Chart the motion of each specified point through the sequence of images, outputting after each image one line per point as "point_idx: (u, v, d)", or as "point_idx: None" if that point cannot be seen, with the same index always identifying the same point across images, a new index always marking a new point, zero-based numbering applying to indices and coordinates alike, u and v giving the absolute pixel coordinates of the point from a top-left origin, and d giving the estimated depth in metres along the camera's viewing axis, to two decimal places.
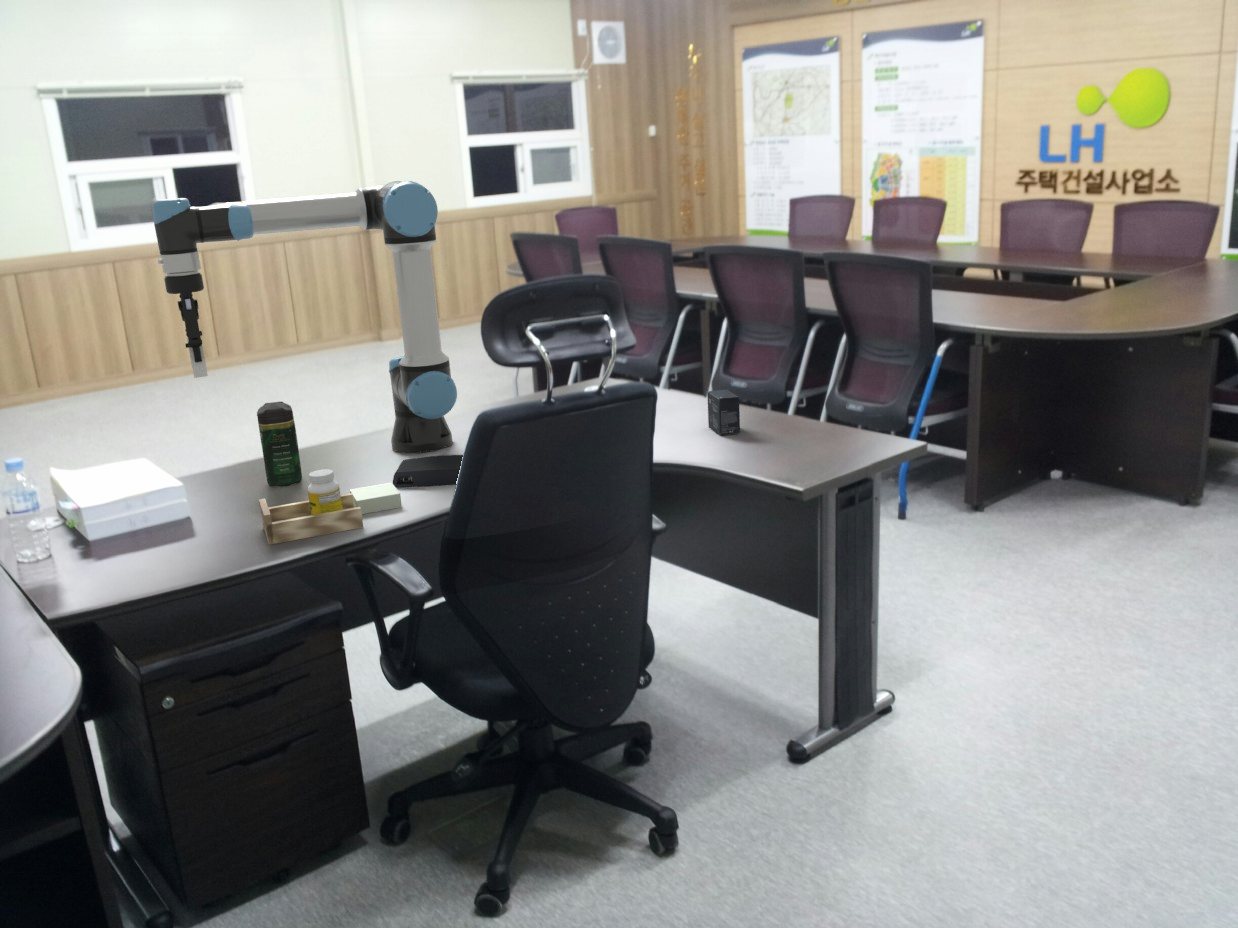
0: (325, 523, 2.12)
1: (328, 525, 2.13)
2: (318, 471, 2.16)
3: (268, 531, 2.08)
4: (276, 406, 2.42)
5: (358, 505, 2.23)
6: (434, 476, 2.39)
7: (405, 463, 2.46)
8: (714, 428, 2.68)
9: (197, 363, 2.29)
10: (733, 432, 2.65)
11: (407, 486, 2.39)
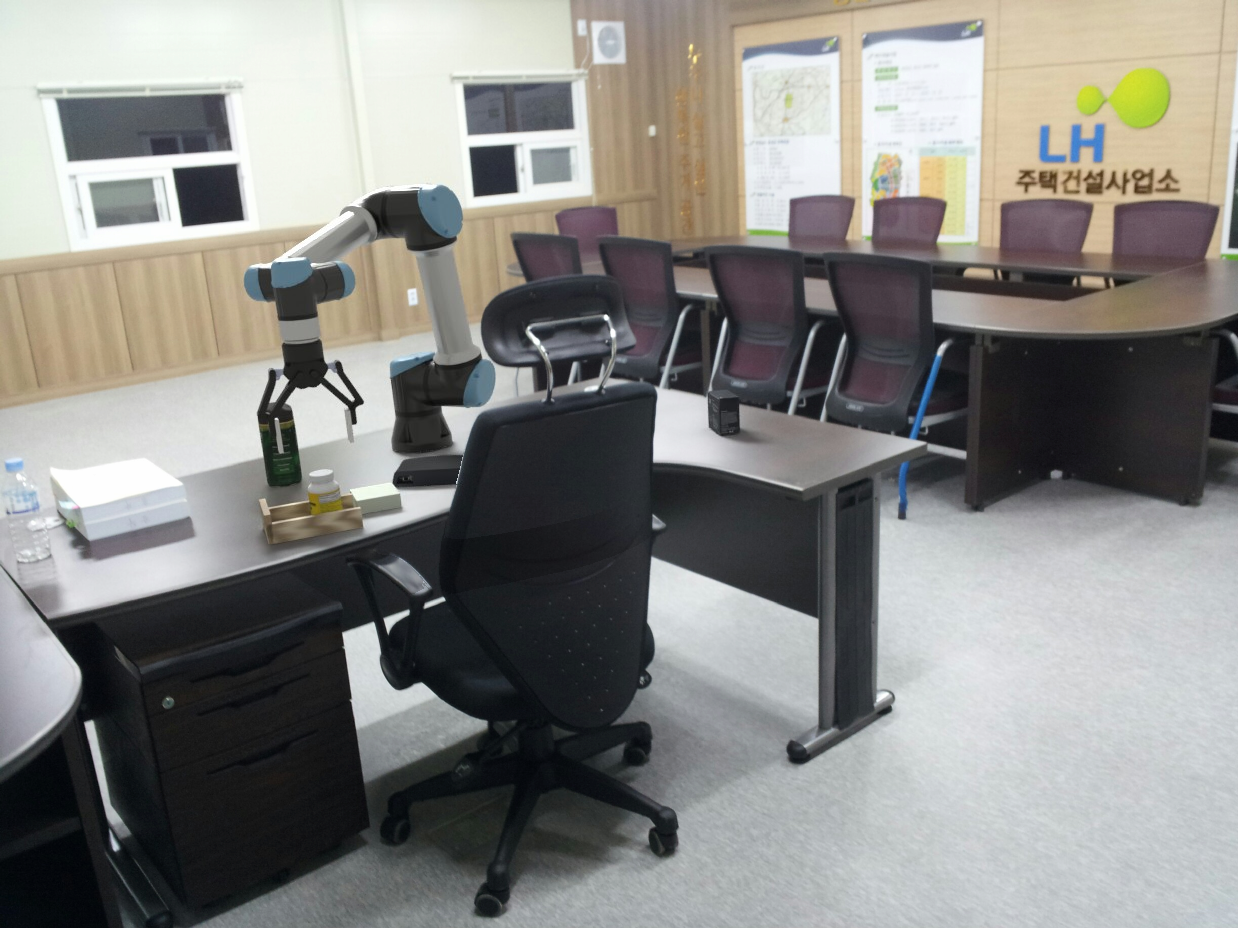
0: (325, 523, 2.12)
1: (328, 525, 2.13)
2: (318, 471, 2.16)
3: (268, 531, 2.08)
4: None
5: (358, 505, 2.23)
6: (434, 476, 2.39)
7: (406, 463, 2.46)
8: (714, 428, 2.68)
9: (276, 437, 2.11)
10: (733, 432, 2.65)
11: (407, 485, 2.40)
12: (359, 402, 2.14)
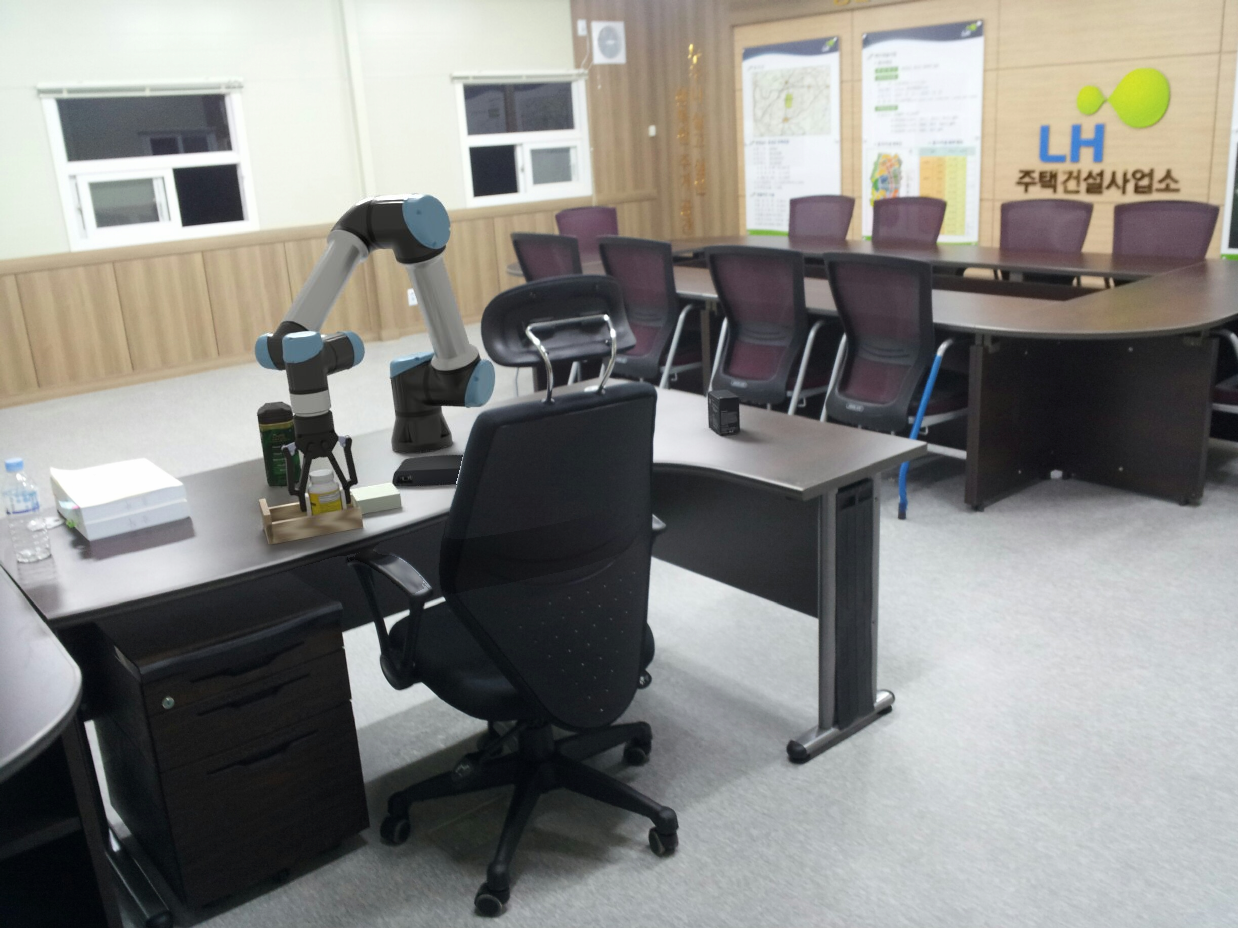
0: (325, 523, 2.12)
1: (328, 525, 2.13)
2: (318, 471, 2.16)
3: (268, 531, 2.08)
4: (276, 406, 2.42)
5: (358, 505, 2.23)
6: (433, 476, 2.39)
7: (406, 462, 2.47)
8: (714, 428, 2.68)
9: (307, 511, 2.16)
10: (733, 432, 2.65)
11: (406, 485, 2.40)
12: (353, 481, 2.17)
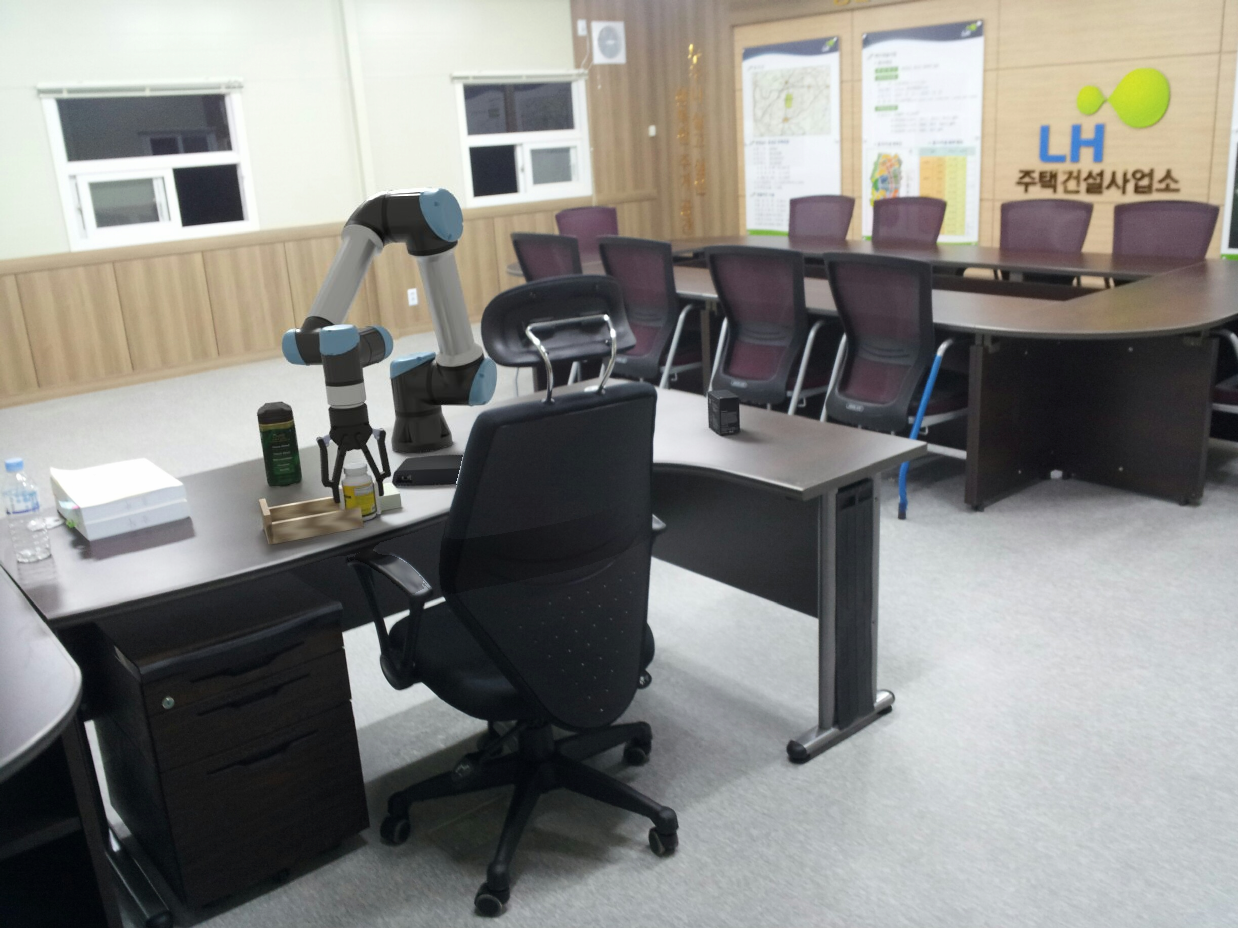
0: (325, 523, 2.12)
1: (328, 525, 2.13)
2: (351, 464, 2.18)
3: (268, 531, 2.08)
4: (276, 406, 2.42)
5: None
6: (433, 476, 2.40)
7: (407, 462, 2.47)
8: (714, 428, 2.68)
9: (340, 503, 2.18)
10: (733, 432, 2.65)
11: (406, 484, 2.40)
12: (386, 474, 2.19)
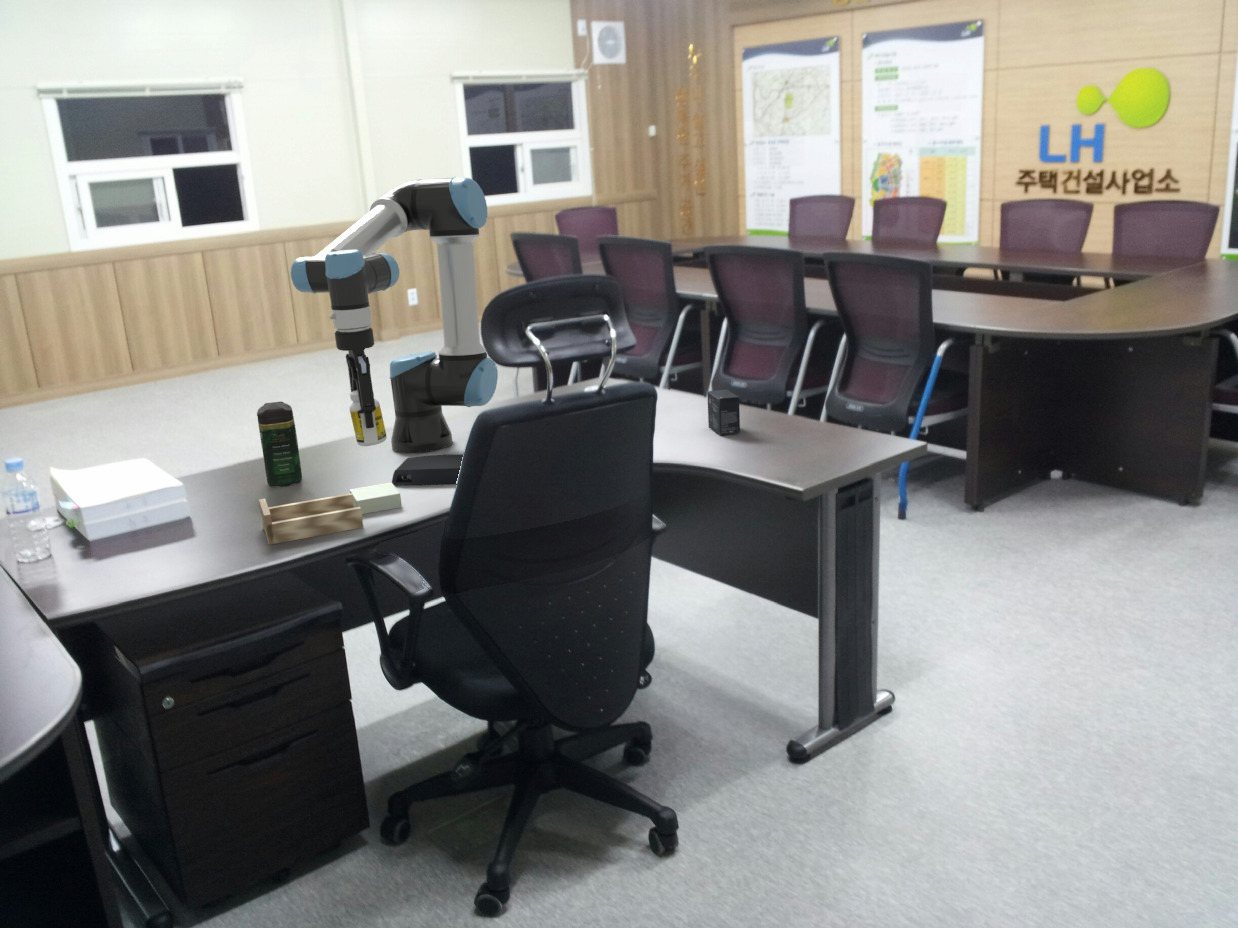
0: (325, 523, 2.12)
1: (328, 525, 2.13)
2: (356, 393, 2.21)
3: (268, 531, 2.08)
4: (276, 406, 2.42)
5: (358, 505, 2.23)
6: (432, 475, 2.40)
7: (408, 461, 2.47)
8: (714, 428, 2.68)
9: (368, 429, 2.20)
10: (733, 432, 2.65)
11: (406, 484, 2.41)
12: None
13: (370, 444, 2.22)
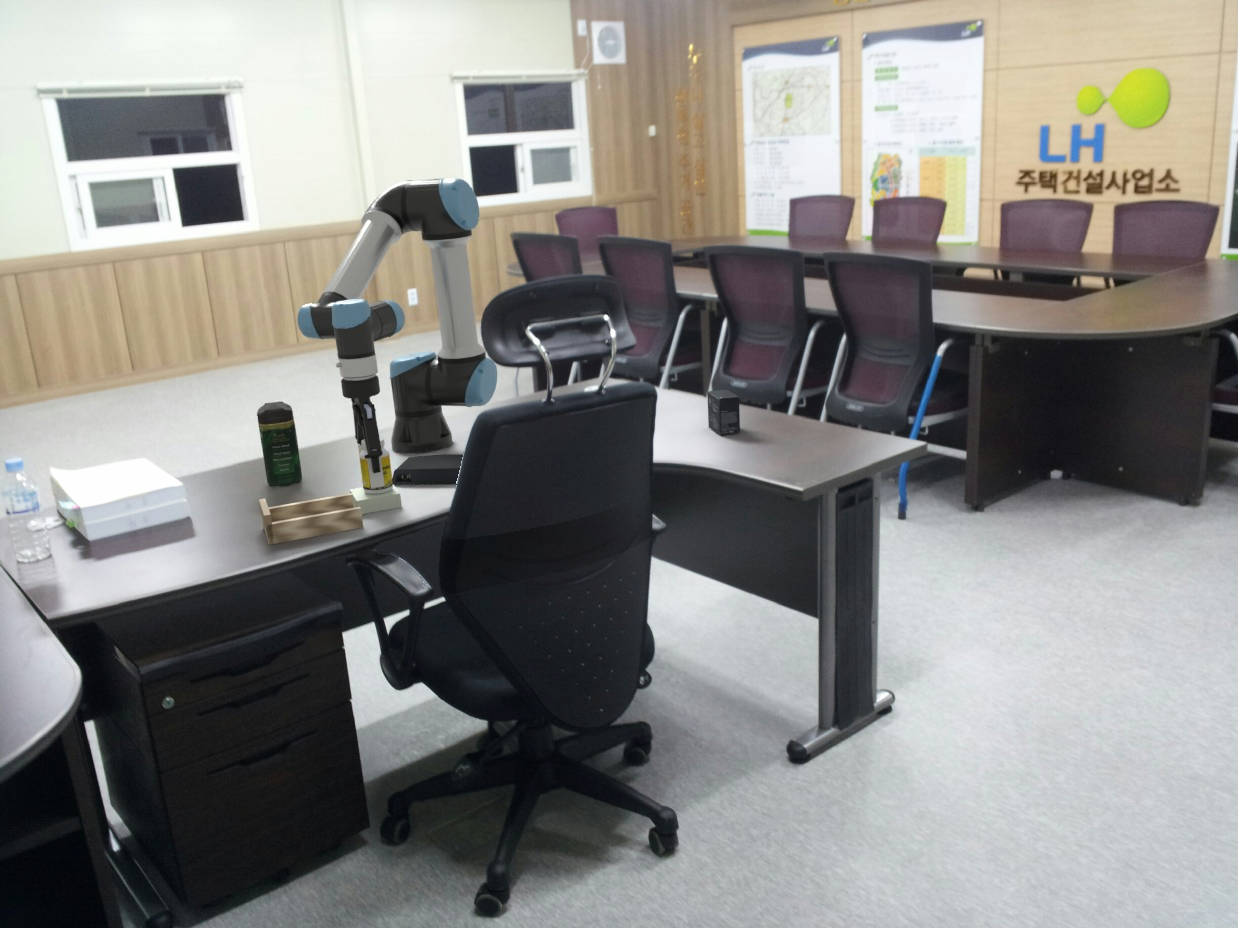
0: (325, 523, 2.12)
1: (328, 525, 2.13)
2: None
3: (268, 531, 2.08)
4: (276, 406, 2.42)
5: (358, 505, 2.23)
6: (432, 475, 2.40)
7: (408, 460, 2.48)
8: (714, 428, 2.68)
9: (375, 473, 2.21)
10: (733, 432, 2.65)
11: (405, 483, 2.41)
12: None
13: (376, 492, 2.25)
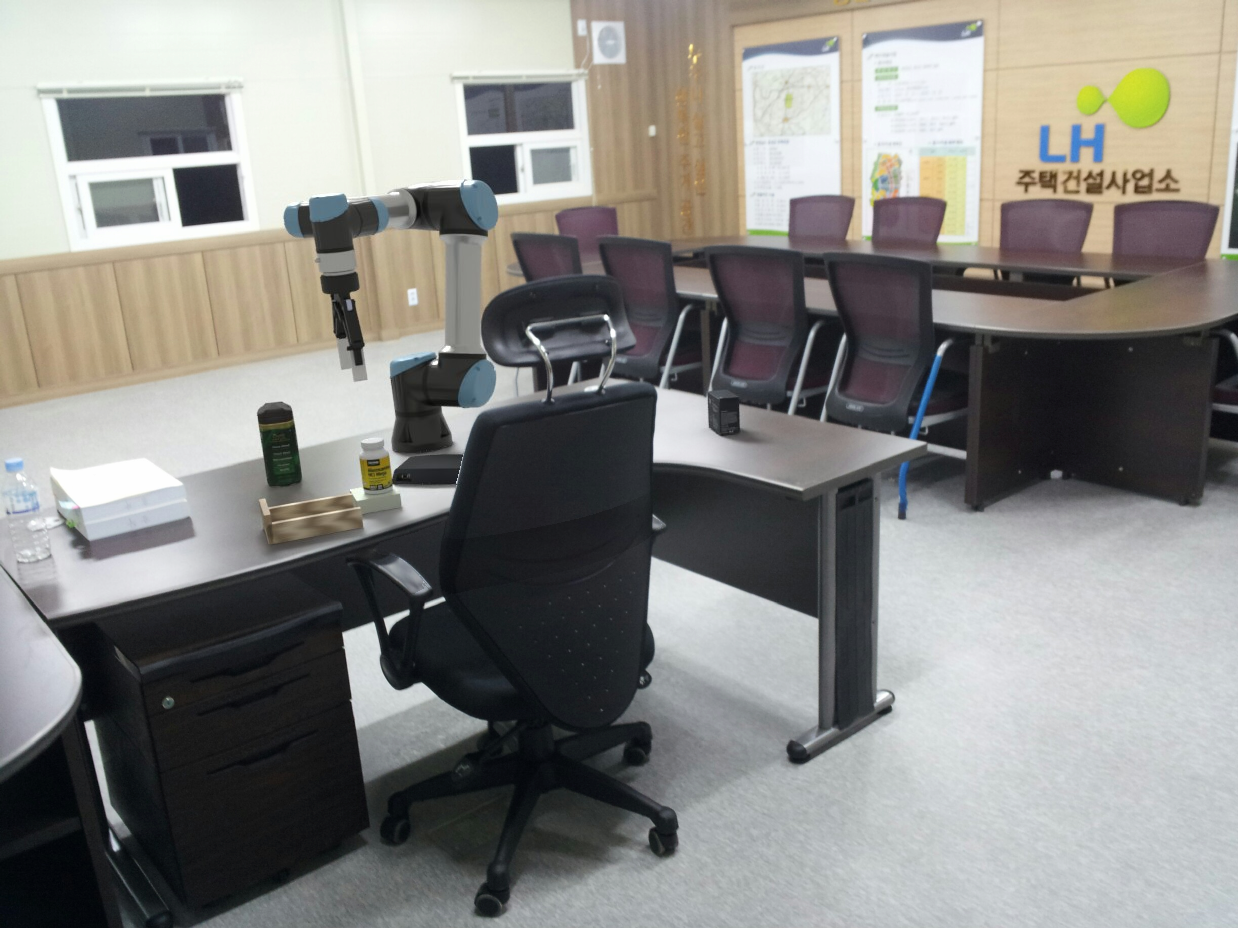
0: (325, 523, 2.12)
1: (328, 525, 2.13)
2: (367, 441, 2.24)
3: (268, 531, 2.08)
4: (276, 406, 2.42)
5: (358, 505, 2.23)
6: (431, 475, 2.40)
7: (409, 460, 2.48)
8: (714, 428, 2.68)
9: (357, 366, 2.18)
10: (733, 432, 2.65)
11: (405, 483, 2.42)
12: None
13: (376, 492, 2.25)
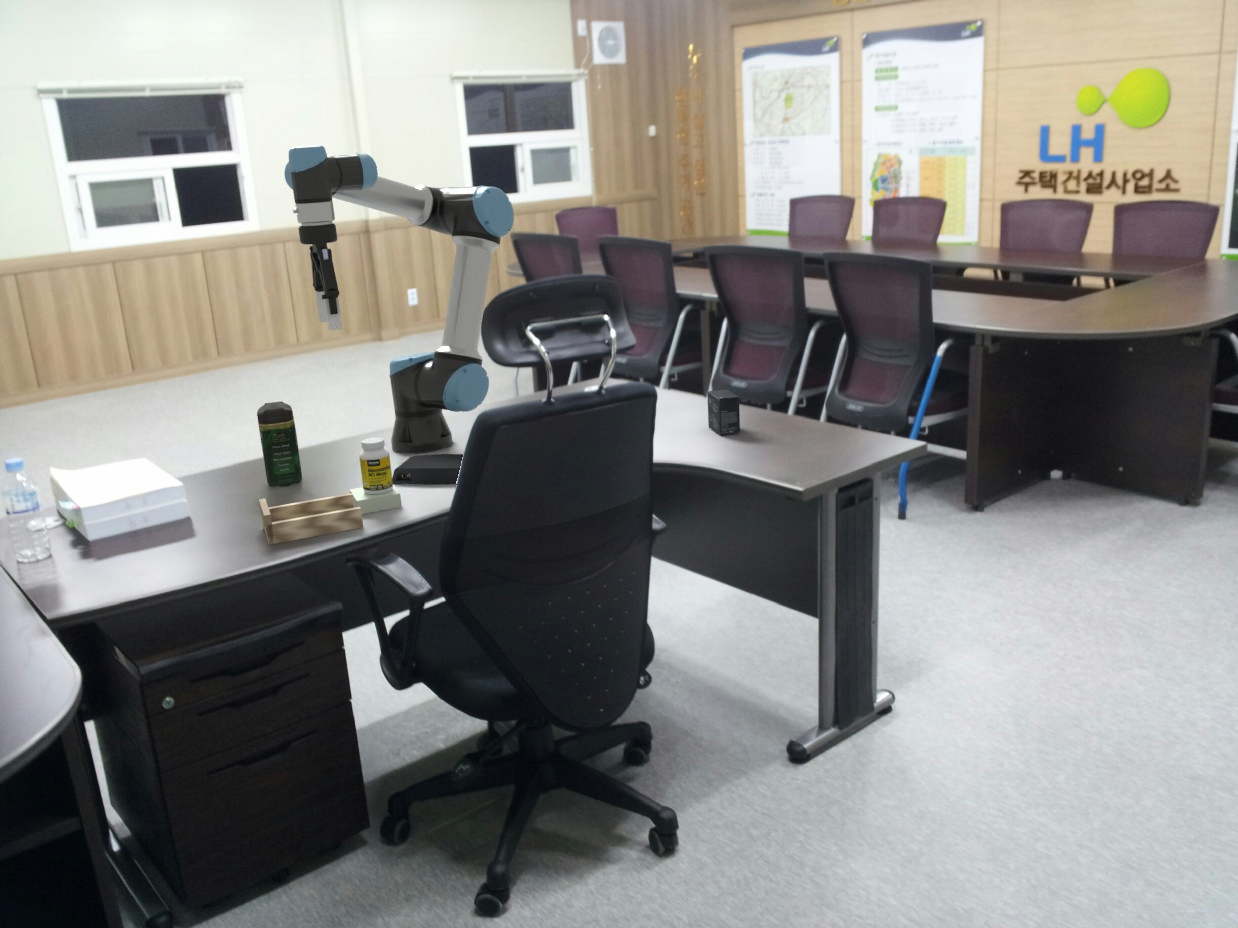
0: (325, 523, 2.12)
1: (328, 525, 2.13)
2: (367, 441, 2.24)
3: (268, 531, 2.08)
4: (276, 406, 2.42)
5: (358, 505, 2.23)
6: (431, 475, 2.40)
7: (410, 459, 2.48)
8: (714, 428, 2.68)
9: (332, 315, 2.23)
10: (733, 432, 2.65)
11: (405, 482, 2.42)
12: None
13: (376, 493, 2.25)
